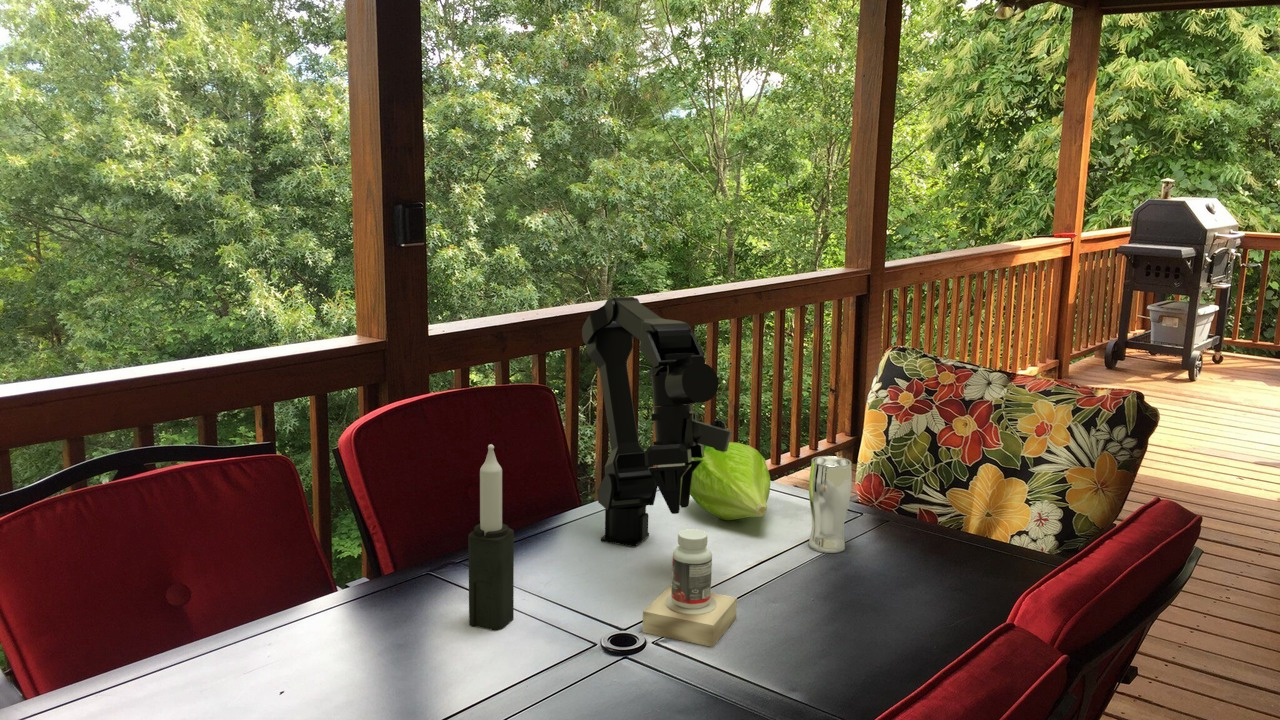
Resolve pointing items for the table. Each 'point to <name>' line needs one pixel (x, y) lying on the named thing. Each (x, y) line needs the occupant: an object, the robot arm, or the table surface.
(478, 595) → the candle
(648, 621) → the pedestal
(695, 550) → the pill bottle
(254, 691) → the table surface
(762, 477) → the lettuce
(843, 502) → the beer glass
